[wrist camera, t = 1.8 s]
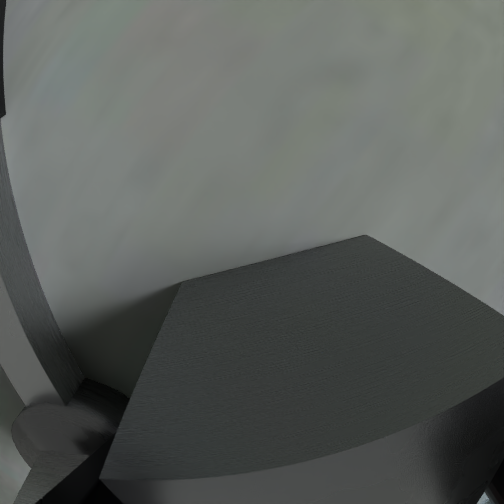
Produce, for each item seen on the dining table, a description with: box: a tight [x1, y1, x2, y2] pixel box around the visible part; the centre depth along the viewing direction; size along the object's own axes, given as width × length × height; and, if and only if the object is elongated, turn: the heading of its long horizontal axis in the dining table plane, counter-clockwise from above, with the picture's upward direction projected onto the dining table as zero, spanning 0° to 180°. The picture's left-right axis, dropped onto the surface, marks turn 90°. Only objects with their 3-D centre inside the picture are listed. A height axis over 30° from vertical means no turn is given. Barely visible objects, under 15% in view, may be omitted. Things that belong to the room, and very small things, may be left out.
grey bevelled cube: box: [99, 235, 504, 504], centre depth 6 cm, size 6×6×7 cm
